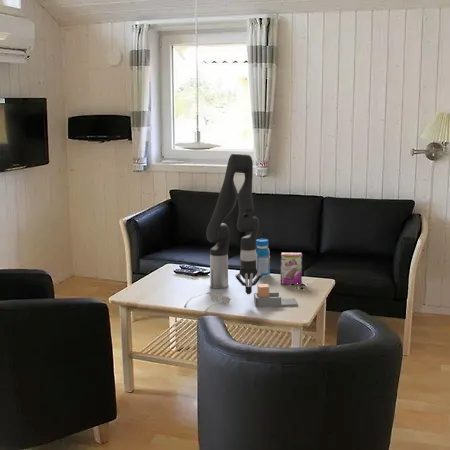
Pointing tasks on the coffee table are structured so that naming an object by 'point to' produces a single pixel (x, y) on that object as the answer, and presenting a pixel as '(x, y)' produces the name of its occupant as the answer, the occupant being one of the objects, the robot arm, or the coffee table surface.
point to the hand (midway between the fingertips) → (248, 293)
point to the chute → (273, 301)
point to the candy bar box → (291, 268)
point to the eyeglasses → (215, 297)
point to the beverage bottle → (262, 257)
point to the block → (263, 290)
